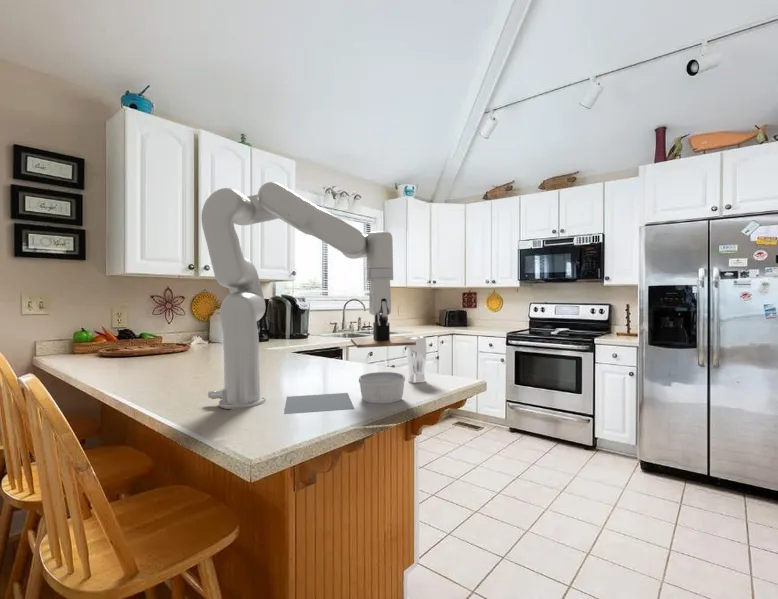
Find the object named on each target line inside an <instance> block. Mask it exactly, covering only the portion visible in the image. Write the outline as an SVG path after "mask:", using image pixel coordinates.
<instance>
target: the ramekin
mask: <svg viewBox="0 0 778 599" xmlns="http://www.w3.org/2000/svg"><path fill="white" fill-rule="evenodd" d="M405 381H406V376H405V374H403V373H399V372H394V371H393V372H392V371H377V372H368V373H364V374H361V375H359V377H358V383H359V387H360V388H359V389H360V393H361V399H362V400H363V401H364V402H366V403H370V404H392V403H396V402H399V401H401V400H402V399H403V396H404V387H405Z"/></svg>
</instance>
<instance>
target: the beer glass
mask: <svg viewBox="0 0 778 599" xmlns="http://www.w3.org/2000/svg"><path fill="white" fill-rule="evenodd" d="M407 338H408V339H410V340H412V341H415V342H416V345H406V347H405V351H406V361H407V364H408V365H407V366H408V378H407V382H408V383H410V384H423V383H426V376H425V367H426V360H427V353H428V352H427V338H426V337H423V336H410V337H407Z"/></svg>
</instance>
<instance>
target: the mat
mask: <svg viewBox="0 0 778 599" xmlns="http://www.w3.org/2000/svg"><path fill="white" fill-rule="evenodd" d="M346 410H348V411H349V410H355V406H354V405H353V402H352V400H351V397H350V396H349V392H340V393H339V392H338V393H337V392H336V393H326V394H325V393H323V394H310V395H309V394H308V395H293V396H292V395H291V396H289V395H288V396H286V400H285V404H284V412H283V415H291V414H304V413H307V414H308V413H319V412H332V411H333V412H335V411H346Z"/></svg>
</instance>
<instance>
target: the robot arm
mask: <svg viewBox="0 0 778 599" xmlns="http://www.w3.org/2000/svg"><path fill="white" fill-rule="evenodd" d="M257 192H258V193H257V194H254V195H248V196H246V195H245V194H243V193H241V192H240V191H238V190H237V189H234V188H230V187H223V188H219V189H217V190H215V191H214V192H212V193H211V194H210V195H209V196H208V198H207V199H206V200H205V202H204V204H203V206H202V210H201V217H200V218H201V227H202V230H203V234H204V238H205V242H206V246H207V251H208V255H209V259H210V262H211V266H212V269H213V270H212V271H213V275H214V277H215V280H216V282H217V283H218V285H220V286H221V287H224V288H227V289H228V292H229V294H228V295H227V296H226V297H225V298H224V299H223V300H222V303H221V305H220V309H219V318H220V323H221V331H222V332H221V333H222V344H223V346H222V347H223V348H222V351H223V380H224V382H223V383H224V384H223V385H224V387H223V389H220V390H209V391H207V392H208V393H207V396H208V398H209V399H211V400H215V399H220V400H219V401H218V407H220V408H221V409H225V410H233V409H243V408H244V409H245V408H252V407H257V406H259V405H262V404H265V403H266V401H267V398H266V396H265V395H263V394H261V380H260V379H261V376H260V372H261V371H260V339H259V329H258V321H260V320H261V319H262V318H263V317H264V315H265V313H266V300H265V296H264V293H263V290H262V286H261V285H262V284H261V281H260V277H259V275H258V271H257V269H256V267H255V265H254V263H253V262H252V261H251V260H250V259H248V258H246V257H244V255H243V251H242V247H241V245H240V240H239V236H238V233H237V231H236V228H235V225H238V226H249V225H254V224H259V223H260V224H261V223H265V222H270V221H274V220H275V221H276V220H282V221H283V222H284V223H286V224H288V225H290V227H293V228H294V229H296V230H298V231H299V232H301V233H304V234H305V235H309V236H312V237H314V238H316V239H319V240H320V241H322V242H324V243H326V244H327V245H329V246H330V247H332V248H334V249H336V250H337V251H339V252H341V253H342V255H344V256H345V257H346V258H348V259H351V260H352V259H353V260H354V259H355V260H356V259H362V258H366V281H367V282H368V281H369V294H368V296H369V300H368V302H369V304H368V306H369V307H368V310H369V311H368V312H369V314H370V315H372V316H374V318H373V319H374V322H378V326H377V340H388V339H389V327H388V323H389V318H388V316H389V315H390V314H391V312H392V297H391V296H392V295H391V294H392V293H391V290H392V289H391V281H394V257H393V256H394V252H393V251H394V250H393V235H392V233H391V232H390V231H384V230H377V231H376V230H375V231H374V230H373V231H370V232H368V233H367V234H365V233H362V232H361V231H360V230H359V229H357V228H356V227H355V226H353V225H351V224H350V223H348V222H346V221H344V220H343V219H340V218H339V217H337V216H336V215H334V214H333V213H330V212H328V211H326V210H325V209H323V208H322V207H320V206H318V205H316V204H314V203H312V202H311V201H310V200H308V199H306V198H305V197H302V196H301V195H299V194H298V193H295V192H294V191H293V190H291V189H289V188H288V187H286V186H284V185H282V184H280V183H279V182H275V181H268V182H265V183H264V184H263V185H261V186H260V187H259V190H258V191H257Z"/></svg>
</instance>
